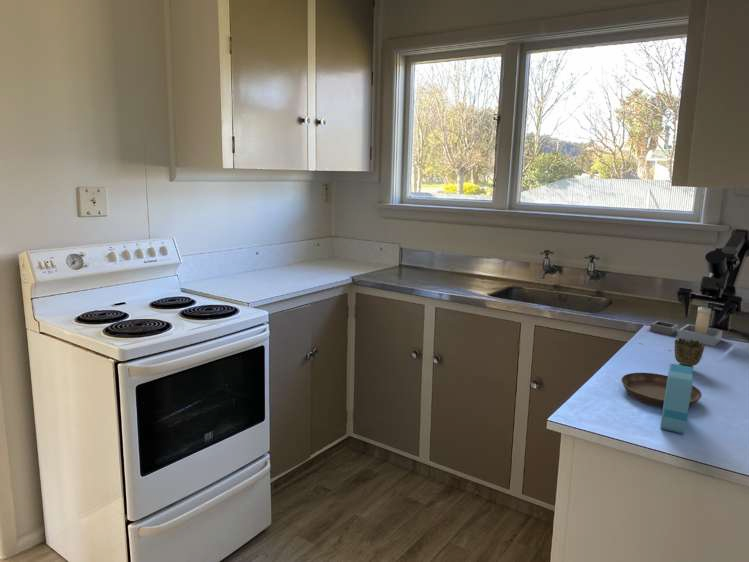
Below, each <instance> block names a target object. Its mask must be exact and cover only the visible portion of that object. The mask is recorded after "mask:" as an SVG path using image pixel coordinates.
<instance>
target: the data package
mask: <svg viewBox="0 0 749 562" xmlns="http://www.w3.org/2000/svg"><path fill="white" fill-rule="evenodd" d="M693 369H694V367H693V368H692V367H688V366H682V365H679V364H675V363H669V367H668V374H667V376H668V379H667V385H666V392H665V398H664V405H663V407H662V413H661V419H660V420H661V421H660V429H661V430H664V431H665V430H666V431H668V432H674V433H678V434H683V435H684V434H685V431H686V426H687V425H686V424H687V420H688V413H689V408H690V406H689V403H690V397H691V391H692V385H693V384H694V381H693V380H694V373H693V371H694V370H693Z"/></svg>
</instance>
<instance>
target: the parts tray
mask: <svg viewBox="0 0 749 562" xmlns="http://www.w3.org/2000/svg"><path fill="white" fill-rule="evenodd" d="M695 325H696V324H695ZM695 325H694V324H690V323H687V324H686V325H684V326H683V327H681V328H678V331H679V333H678V335H677V340H679V338H681V339H682V340H683V339H685V341H686V342H687V341H688V342H690V340H693V341H698V342H699V343H700V344H701V343H702V344H703V345H704V344H705V346H710V347H715V346H716V345H717V344H718V343H720V342H721V341H722V337H723V332H724V330H721V329H716V328H711V327H708V330H707V335H705V334H700V333H695V332H694V331H695Z"/></svg>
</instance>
